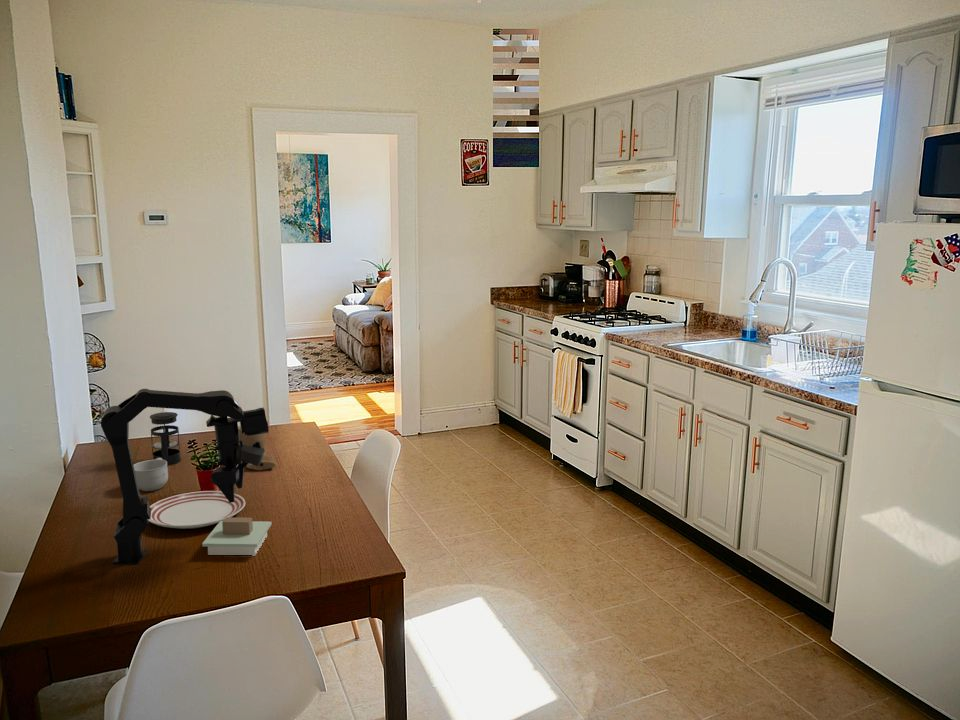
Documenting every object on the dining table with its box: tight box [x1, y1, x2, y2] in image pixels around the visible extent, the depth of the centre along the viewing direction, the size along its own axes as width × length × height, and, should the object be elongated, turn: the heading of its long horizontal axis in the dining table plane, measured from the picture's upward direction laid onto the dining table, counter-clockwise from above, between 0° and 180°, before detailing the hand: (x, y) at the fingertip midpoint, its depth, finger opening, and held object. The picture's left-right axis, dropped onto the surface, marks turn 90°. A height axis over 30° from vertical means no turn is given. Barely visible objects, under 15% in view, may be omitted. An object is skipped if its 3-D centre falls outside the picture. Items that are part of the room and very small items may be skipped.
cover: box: [201, 516, 272, 548], centre depth 195 cm, size 14×14×4 cm
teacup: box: [133, 458, 169, 492], centre depth 235 cm, size 14×11×8 cm
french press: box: [149, 408, 182, 467], centre depth 256 cm, size 12×9×23 cm
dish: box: [207, 531, 268, 557], centre depth 196 cm, size 12×12×3 cm
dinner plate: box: [148, 490, 246, 530], centre depth 214 cm, size 27×27×3 cm
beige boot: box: [238, 425, 277, 471], centre depth 256 cm, size 15×12×15 cm
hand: (236, 495), depth 195 cm, fingers open, 9 cm apart
